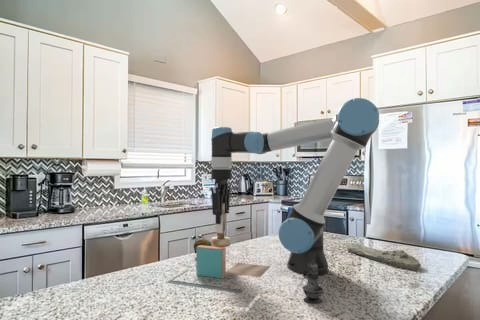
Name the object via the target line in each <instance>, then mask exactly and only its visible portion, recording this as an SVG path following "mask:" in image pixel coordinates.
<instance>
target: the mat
mask: <svg viewBox="0 0 480 320" xmlns="http://www.w3.org/2000/svg"><path fill="white" fill-rule="evenodd" d="M188 271H189V269H187V270H185V271H183V272H181V273H180V274H178V275H176V276H175V277H173V278H172V279H169V280H168V281H166V284H172V285H180V286H181V285H182V286H188V287H195V288H202V289H208V290H215V291H222V292H230V293H236V294H241V293H243V291H244V290H243V289H237V288H229V287H222V286H214V285H206V284H200V283H193V282H188V281H187V282H185V281H178V280H176V279H177V278H179V277H180V276H182V275H184V274H185V273H187V272H188Z"/></svg>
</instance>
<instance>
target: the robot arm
mask: <svg viewBox="0 0 480 320" xmlns="http://www.w3.org/2000/svg"><path fill="white" fill-rule="evenodd" d="M379 123H380V113H379V109H378V107H377V106H376V104H374V103H373V102H372V101H371V100H369V99H366V98H363V97H355V98H352V99H350V100H347V101H346V102H344V103H343V104H342V105H341V107H340V108H339V110H338V113H336V114H335V115H334V116H333V117H332V118H329V119H328V118H327V119H324V120H318V121H313V122H310V123H305V124H300V125H296V126H291V127H287V128H282V129H277V130H273V131H270V132H264V133H262V132H260V131H246V132H245V131H243V132H242V131H240V132H235V131H234V132H233V130H232V128H231V127H229V126H228V127H227V126H216V127H213V128H212V130H211V160H210V162H211V168H212V169H211V170H210V171H211V172H210V175H211V177H210V178H211V180H214V184H213V185H214V186H213V187H210V190H211V191H210V192H211V206H212V207H211V209H212V210H211V211H212V215H214V216H215V223H214V225H215V226H214V227H215V229H214V230H215V231H214V232H215V233H216V234H217V233H223V215H222V204H223V203H225V232H227V217H228V214H230V199H231V197H230V196H231V185H230V184H228V182H229V181H228V180H232V167H233V166H232V163H233V161H232V160H233V159H232V155H233V154H235V153H239V154H242V153H243V154H245V153H246V154H255V155H263V154H267V153H270V152H274V151H279V150H280V151H281V150H285V149H290V148H294V147H301V146H306V145H311V144H315V143H321V142H326V141H331V142H330V143H329V146H328V148H327V149H326V151H325V153H324V155H323V157H322V159H321V162H320V163H319V165H318V166H317V169H316V171H315V173H314V174H313V177H312V179H311V180H310V183H309V185H308V186H307V188H306V190H305V193H304V194H303V196H302V198H301V200H300V202H299V203H296V204H293V206H292V208H291V209H290V211H289V213H288V215H287V218H286V219H285V220H284V221H283V222H282V223H281V224H280V226H279V228H278V239H279V241H280V243H281V245H282V246H283V248H284V249H286V250H287V251H288V252H290V253H289V257H288V259H287V263H286V268H287V269H288V270H289V271H291V272H294V273H296V274H297V273H299V274H303V275H302V276H303V277H308V276H307V274H308V264H309V263H311V262H312V259H313V260H314V263H316V264H317V265H318V275H319V277H321V276H325V275H327V274H328V273H329V264H328V261H327V257H326V254H325V251H324V225H325V223H326V220H325V216H324V215H325V213H326V211H327V209H328V207H329V206H330V204H331V202H332V200H333V198H334V196H335V194H336V192H337V190H338V188H339V186H340V184H341V182H342V181H343V179H344V177H345V176H346V173H347V172H348V170H349V168H350V165H351V164H352V162H353V160H354V158H355V157H356V154H357V153H358V151H360V150H364V149H365V148H366V146H367V144H368V142H369V141H370V139H371V137H372V135H373V134H374V133H375V132H376V131H377V129H378V127H379ZM232 153H233V154H232ZM215 233H214V234H215Z"/></svg>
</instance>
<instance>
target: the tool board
mask: <svg viewBox="0 0 480 320" xmlns="http://www.w3.org/2000/svg"><path fill="white" fill-rule="evenodd" d="M270 267H271V266H270V265H262V264H253V263H246V262H245V263H242V262H237V263H236V264H234V265H233V266H232V267H230V268H229V269H228V270H226V274H232V275H239V276H241V275H242V276H249V277H254V278H255V277H256V278H261V277H262V276H263V275H264V274H265V272H267V270H268V269H269V268H270Z"/></svg>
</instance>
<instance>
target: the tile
mask: <svg viewBox="0 0 480 320" xmlns="http://www.w3.org/2000/svg"><path fill="white" fill-rule="evenodd" d="M226 250H227V249H226V247H214V246H203V245H199V246H197V253H196V259H195V260H196V265H195V266H196V267H195V268H196V271H195V272H196V276H200V277H208V278H218V279H224V278H225V277H226V274H227V273H226V272H227V270H226V268H227V267H226V265H227V263H226V261H227V260H226V259H227V258H226V255H227V254H226Z"/></svg>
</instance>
